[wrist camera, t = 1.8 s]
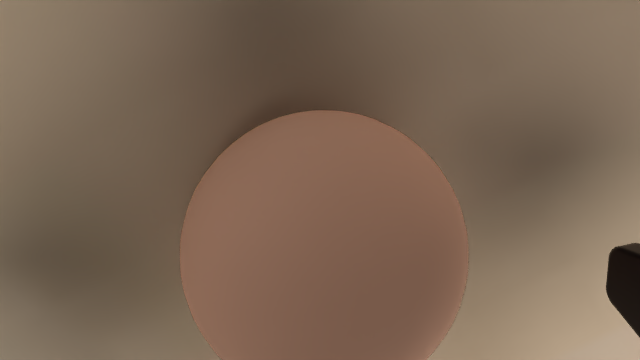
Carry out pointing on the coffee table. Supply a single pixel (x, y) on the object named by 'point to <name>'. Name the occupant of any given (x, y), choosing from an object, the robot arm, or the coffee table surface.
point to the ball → (324, 244)
